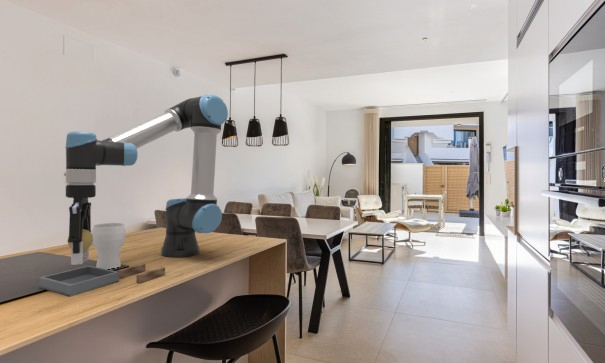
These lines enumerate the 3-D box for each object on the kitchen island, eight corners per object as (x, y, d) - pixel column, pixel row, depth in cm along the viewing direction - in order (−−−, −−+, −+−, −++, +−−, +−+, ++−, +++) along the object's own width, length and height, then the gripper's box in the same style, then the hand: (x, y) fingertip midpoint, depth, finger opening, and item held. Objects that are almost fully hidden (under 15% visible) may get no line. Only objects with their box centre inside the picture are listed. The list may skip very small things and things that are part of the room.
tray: (89, 274, 112) (89, 265, 112) (118, 281, 106) (118, 272, 106) (39, 287, 99) (39, 277, 99) (69, 296, 93) (69, 285, 93)
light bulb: (93, 263, 101) (93, 230, 101) (67, 266, 98) (67, 231, 98) (92, 258, 107) (92, 226, 106) (67, 261, 103) (67, 228, 103)
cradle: (143, 270, 118) (143, 263, 118) (165, 275, 114) (165, 267, 114) (116, 278, 109) (116, 270, 109) (139, 283, 105) (139, 275, 105)
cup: (83, 269, 118) (84, 225, 118) (111, 261, 128) (111, 222, 128) (105, 273, 114) (105, 228, 114) (132, 265, 124) (132, 224, 124)
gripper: (75, 182, 110) (75, 254, 110) (54, 185, 91) (54, 270, 92) (102, 183, 112) (101, 253, 113) (87, 185, 94) (86, 268, 95)
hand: (80, 260), depth 102 cm, fingers closed on light bulb, 6 cm apart
